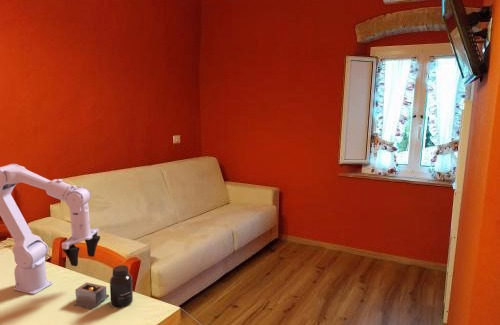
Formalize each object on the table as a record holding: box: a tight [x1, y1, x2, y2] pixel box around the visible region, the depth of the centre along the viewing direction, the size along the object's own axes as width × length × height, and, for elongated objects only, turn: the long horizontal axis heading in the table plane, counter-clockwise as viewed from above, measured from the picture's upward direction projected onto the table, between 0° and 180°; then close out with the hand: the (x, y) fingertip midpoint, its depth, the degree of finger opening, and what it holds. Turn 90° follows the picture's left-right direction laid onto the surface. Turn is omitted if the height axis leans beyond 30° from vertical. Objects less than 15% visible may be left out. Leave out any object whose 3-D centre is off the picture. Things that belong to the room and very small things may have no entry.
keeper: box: [73, 287, 110, 310], centre depth 114 cm, size 7×8×5 cm
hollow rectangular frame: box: [75, 281, 108, 306], centre depth 114 cm, size 8×5×4 cm, turn 72°
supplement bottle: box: [109, 264, 134, 309], centre depth 113 cm, size 7×7×12 cm
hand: (83, 260), depth 121 cm, fingers open, 7 cm apart
